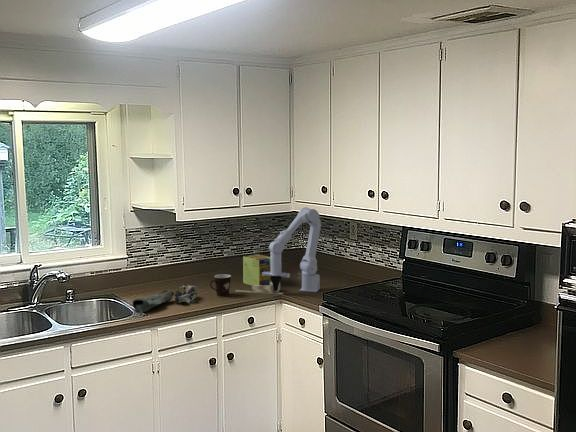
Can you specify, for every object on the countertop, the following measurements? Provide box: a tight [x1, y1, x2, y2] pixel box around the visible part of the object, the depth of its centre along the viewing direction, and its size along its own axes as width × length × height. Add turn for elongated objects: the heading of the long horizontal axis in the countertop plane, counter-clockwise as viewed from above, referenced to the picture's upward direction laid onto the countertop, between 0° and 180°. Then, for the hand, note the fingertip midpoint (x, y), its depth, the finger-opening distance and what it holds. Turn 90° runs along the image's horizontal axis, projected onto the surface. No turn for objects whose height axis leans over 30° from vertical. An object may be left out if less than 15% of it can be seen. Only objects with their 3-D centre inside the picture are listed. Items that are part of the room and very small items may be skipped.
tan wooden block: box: [251, 285, 275, 293], centre depth 329 cm, size 12×3×4 cm, turn 75°
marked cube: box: [270, 282, 281, 293], centre depth 333 cm, size 4×5×4 cm
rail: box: [234, 289, 284, 295], centre depth 330 cm, size 26×2×1 cm, turn 75°
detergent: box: [132, 289, 175, 313], centre depth 304 cm, size 13×7×25 cm
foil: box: [174, 282, 199, 305], centre depth 314 cm, size 12×11×15 cm
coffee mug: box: [209, 273, 232, 297], centre depth 324 cm, size 12×9×10 cm
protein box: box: [242, 254, 272, 287], centre depth 348 cm, size 10×15×16 cm
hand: (276, 290), depth 327 cm, fingers closed
